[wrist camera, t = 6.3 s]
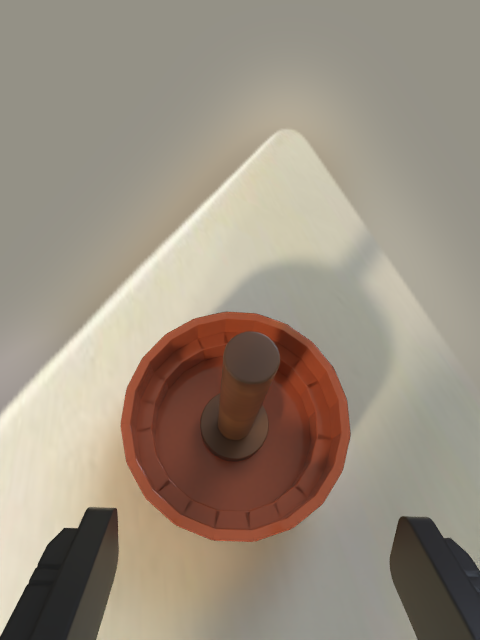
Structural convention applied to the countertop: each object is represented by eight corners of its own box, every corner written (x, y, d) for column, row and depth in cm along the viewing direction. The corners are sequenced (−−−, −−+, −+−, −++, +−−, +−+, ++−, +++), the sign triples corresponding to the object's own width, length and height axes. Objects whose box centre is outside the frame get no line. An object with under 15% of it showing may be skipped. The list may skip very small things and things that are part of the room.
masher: (266, 396, 30) (305, 309, 18) (266, 463, 28) (311, 416, 16) (203, 393, 30) (199, 303, 17) (198, 460, 27) (189, 410, 15)
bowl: (321, 345, 33) (339, 318, 28) (335, 541, 26) (361, 545, 22) (149, 336, 32) (140, 306, 28) (120, 534, 25) (101, 537, 21)
